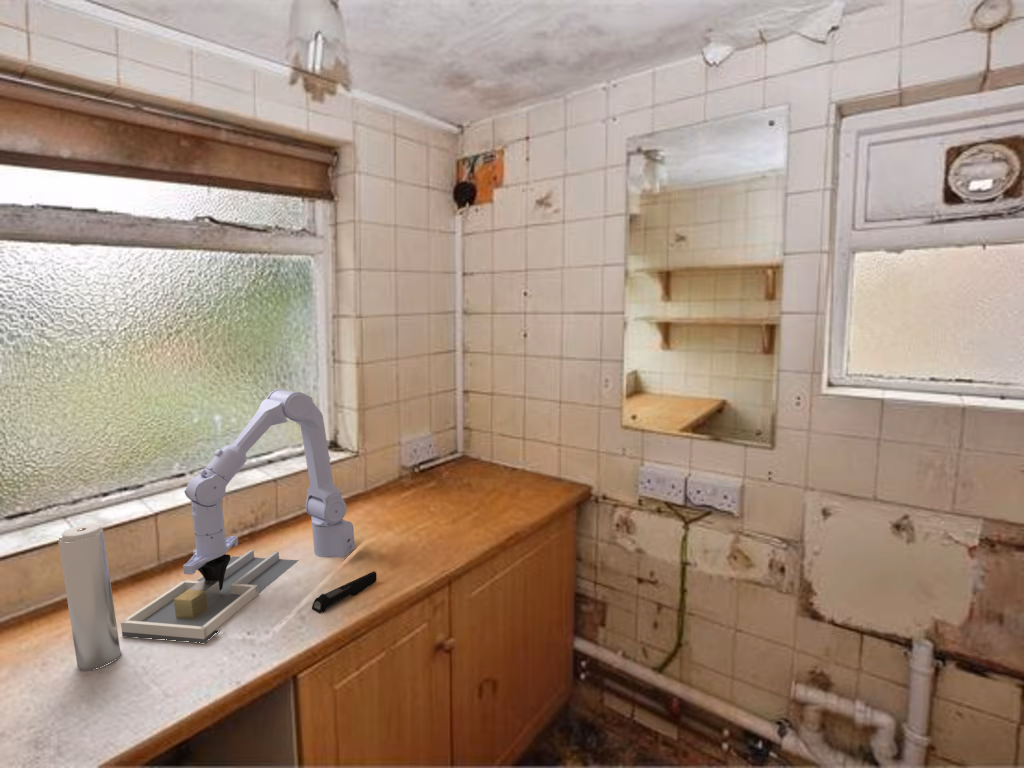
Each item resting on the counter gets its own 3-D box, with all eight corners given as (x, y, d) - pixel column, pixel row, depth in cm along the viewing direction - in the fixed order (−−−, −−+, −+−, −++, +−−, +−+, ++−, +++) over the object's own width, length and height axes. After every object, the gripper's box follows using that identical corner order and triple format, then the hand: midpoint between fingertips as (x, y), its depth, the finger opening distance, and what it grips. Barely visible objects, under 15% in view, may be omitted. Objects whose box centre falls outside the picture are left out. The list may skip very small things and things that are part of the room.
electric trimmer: (381, 586, 129) (380, 572, 129) (321, 615, 117) (320, 601, 117) (370, 581, 131) (370, 568, 131) (310, 610, 119) (309, 595, 119)
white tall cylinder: (92, 650, 107) (73, 523, 103) (128, 647, 107) (110, 521, 104) (68, 672, 100) (47, 537, 97) (107, 669, 101) (87, 535, 97)
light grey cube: (220, 598, 122) (218, 581, 122) (207, 608, 119) (205, 590, 118) (204, 597, 123) (202, 579, 123) (190, 607, 119) (188, 589, 119)
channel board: (298, 564, 140) (297, 552, 139) (204, 643, 108) (202, 629, 107) (233, 560, 143) (231, 548, 143) (122, 636, 111) (120, 622, 111)
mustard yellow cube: (207, 608, 119) (205, 590, 118) (193, 619, 115) (191, 600, 114) (190, 607, 119) (188, 589, 119) (176, 617, 115) (173, 599, 115)
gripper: (216, 517, 130) (222, 573, 132) (167, 544, 116) (175, 606, 118) (243, 518, 129) (249, 575, 131) (198, 545, 114) (205, 608, 116)
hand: (216, 590), depth 124 cm, fingers closed
